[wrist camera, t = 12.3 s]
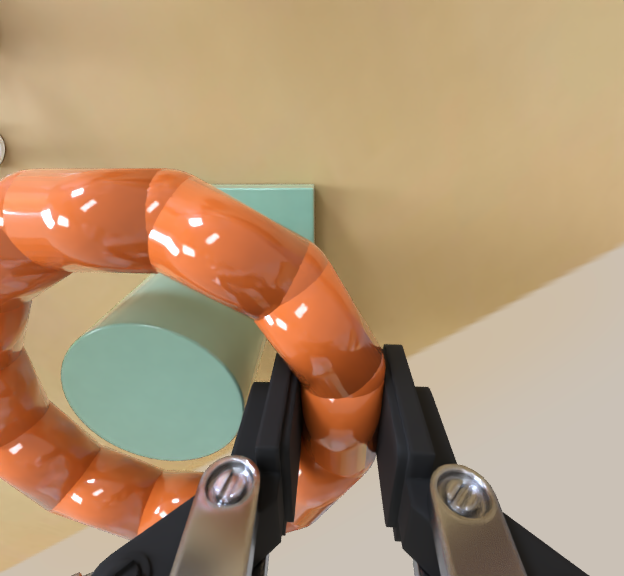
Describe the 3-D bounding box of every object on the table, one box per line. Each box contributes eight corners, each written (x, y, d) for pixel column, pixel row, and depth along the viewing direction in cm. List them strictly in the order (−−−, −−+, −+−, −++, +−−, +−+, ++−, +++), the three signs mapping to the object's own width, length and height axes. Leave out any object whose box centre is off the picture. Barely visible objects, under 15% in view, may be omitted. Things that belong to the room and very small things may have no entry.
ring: (56, 486, 15) (9, 547, 13) (-123, 162, 9) (-265, 176, 7) (364, 504, 14) (369, 572, 12) (399, 162, 8) (421, 178, 6)
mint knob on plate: (180, 323, 23) (61, 487, 13) (149, 184, 19) (-61, 263, 9) (315, 326, 22) (303, 498, 12) (314, 184, 18) (295, 267, 8)
